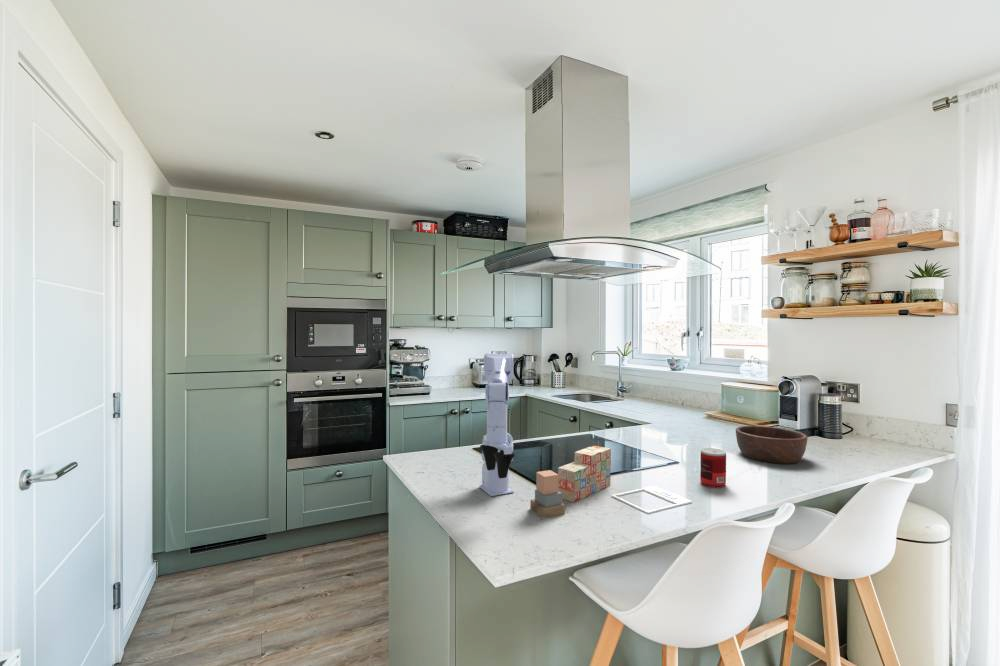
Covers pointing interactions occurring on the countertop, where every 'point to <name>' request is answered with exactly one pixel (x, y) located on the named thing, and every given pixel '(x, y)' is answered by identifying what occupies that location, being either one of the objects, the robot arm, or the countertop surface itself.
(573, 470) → the stack of blocks
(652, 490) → the photo frame
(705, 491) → the countertop surface
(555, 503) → the gray top block
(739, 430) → the wooden bowl
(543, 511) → the walnut base block
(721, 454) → the canned food
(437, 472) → the countertop surface
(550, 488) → the terracotta block
